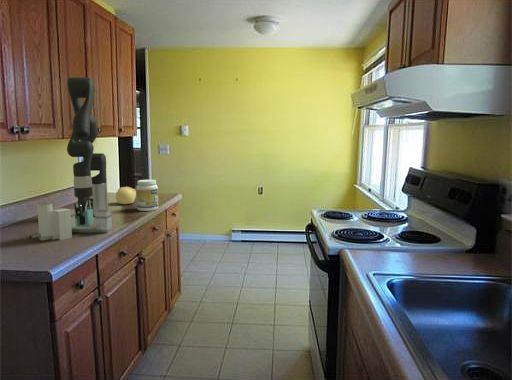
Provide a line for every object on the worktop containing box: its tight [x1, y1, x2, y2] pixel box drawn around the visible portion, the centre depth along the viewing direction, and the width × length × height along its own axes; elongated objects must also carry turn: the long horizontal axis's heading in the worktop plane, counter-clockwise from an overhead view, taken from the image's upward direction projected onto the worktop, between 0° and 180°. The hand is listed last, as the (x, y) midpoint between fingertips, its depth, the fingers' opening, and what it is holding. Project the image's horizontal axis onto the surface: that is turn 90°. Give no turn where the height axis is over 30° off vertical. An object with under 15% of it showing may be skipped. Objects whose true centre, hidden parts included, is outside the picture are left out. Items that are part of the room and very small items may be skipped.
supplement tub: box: [135, 179, 159, 212], centre depth 222 cm, size 12×12×17 cm
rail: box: [68, 208, 113, 234], centre depth 173 cm, size 5×22×10 cm, turn 89°
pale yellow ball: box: [115, 186, 136, 205], centre depth 240 cm, size 12×12×11 cm
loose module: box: [76, 208, 94, 227], centre depth 173 cm, size 5×5×7 cm
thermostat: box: [29, 202, 73, 241], centre depth 161 cm, size 12×14×15 cm
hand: (85, 222), depth 174 cm, fingers closed on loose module, 5 cm apart
